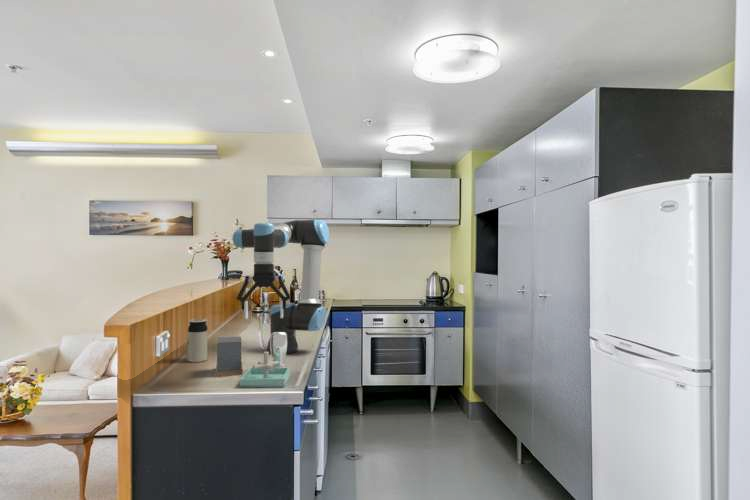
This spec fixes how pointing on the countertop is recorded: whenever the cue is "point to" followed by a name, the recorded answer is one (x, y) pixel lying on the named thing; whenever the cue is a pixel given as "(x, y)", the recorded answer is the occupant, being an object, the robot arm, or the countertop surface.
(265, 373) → the pipe connector
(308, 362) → the countertop surface
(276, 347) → the beer glass
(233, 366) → the mounted unit
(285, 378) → the tray
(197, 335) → the travel mug
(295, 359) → the countertop surface
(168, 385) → the countertop surface
